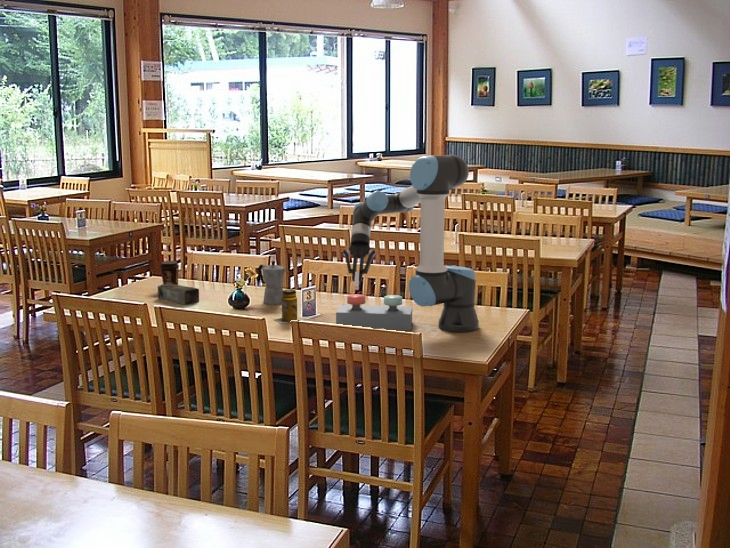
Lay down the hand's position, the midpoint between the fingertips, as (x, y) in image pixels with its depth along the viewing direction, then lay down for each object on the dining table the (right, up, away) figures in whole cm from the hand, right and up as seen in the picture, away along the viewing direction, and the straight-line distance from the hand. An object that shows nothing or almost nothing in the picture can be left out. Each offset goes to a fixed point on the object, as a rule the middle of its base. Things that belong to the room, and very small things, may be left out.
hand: (356, 287), depth 311 cm
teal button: (+14, -11, 0) cm, 18 cm away
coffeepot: (-36, -7, +39) cm, 54 cm away
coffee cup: (-85, -2, +62) cm, 106 cm away
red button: (0, -11, +2) cm, 11 cm away
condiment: (-27, -13, +9) cm, 31 cm away
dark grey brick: (-77, -7, +42) cm, 88 cm away
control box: (+7, -14, +2) cm, 16 cm away
